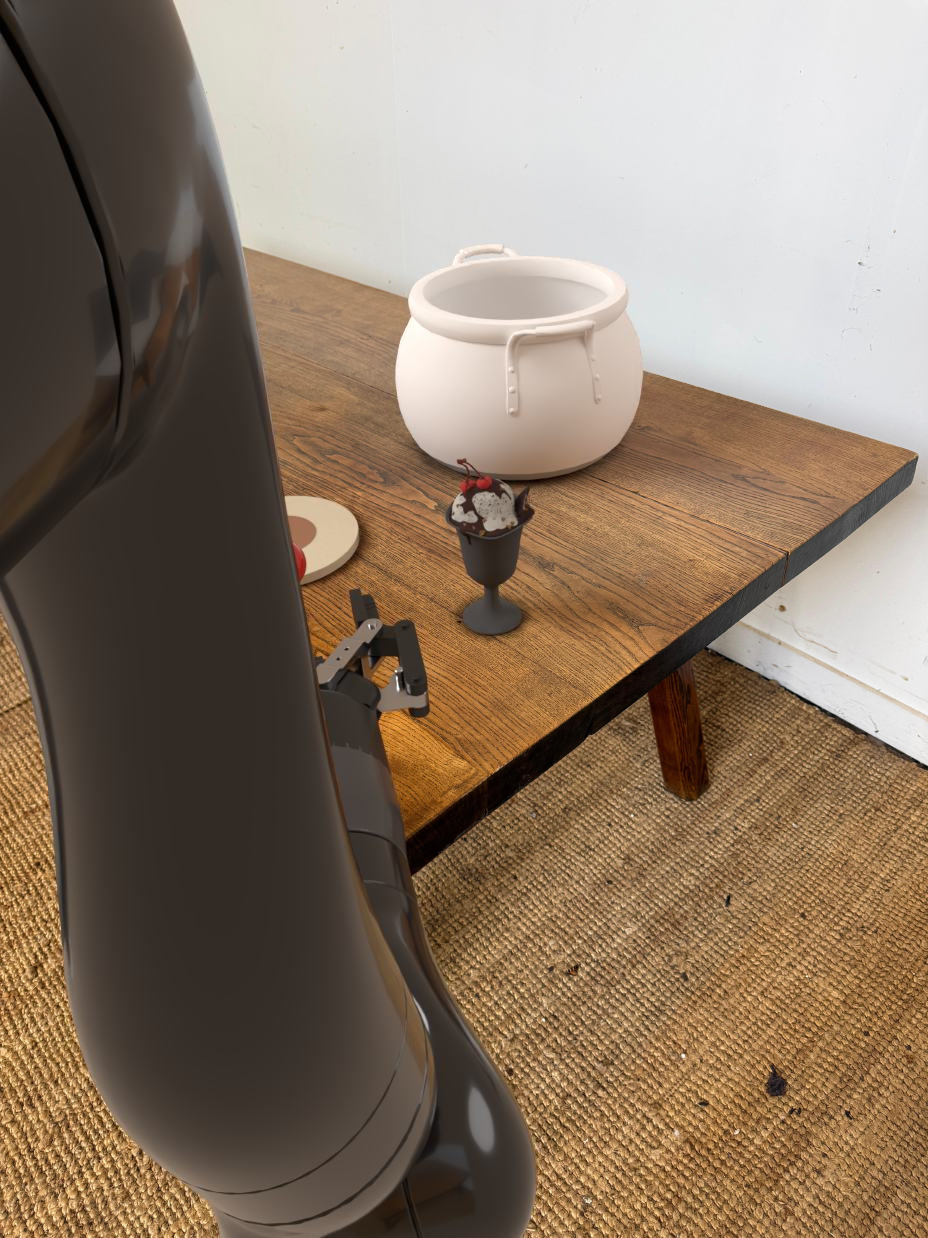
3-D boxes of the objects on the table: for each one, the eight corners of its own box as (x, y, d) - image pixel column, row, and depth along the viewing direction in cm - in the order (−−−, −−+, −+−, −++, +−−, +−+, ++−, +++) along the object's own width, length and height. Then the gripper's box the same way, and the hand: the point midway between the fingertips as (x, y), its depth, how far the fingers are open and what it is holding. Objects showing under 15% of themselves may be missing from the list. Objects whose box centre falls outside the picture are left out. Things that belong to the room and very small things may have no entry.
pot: (380, 402, 108) (364, 256, 98) (583, 373, 113) (589, 230, 102) (432, 520, 86) (419, 347, 75) (683, 477, 90) (704, 308, 80)
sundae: (435, 620, 73) (422, 458, 64) (488, 584, 77) (483, 425, 68) (494, 653, 69) (490, 486, 60) (548, 613, 73) (551, 450, 64)
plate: (201, 604, 76) (199, 594, 76) (198, 518, 88) (196, 509, 87) (371, 573, 79) (370, 563, 78) (347, 493, 91) (345, 484, 90)
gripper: (458, 721, 41) (394, 541, 54) (146, 787, 39) (155, 583, 51) (465, 824, 46) (404, 637, 58) (186, 888, 44) (185, 679, 56)
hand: (287, 612), depth 55 cm, fingers open, 8 cm apart
